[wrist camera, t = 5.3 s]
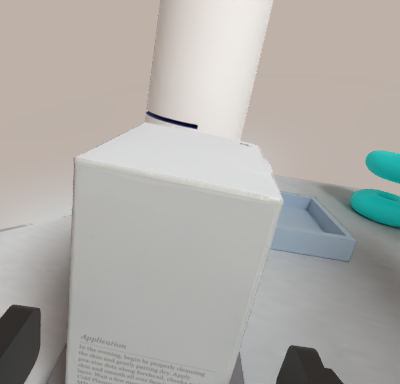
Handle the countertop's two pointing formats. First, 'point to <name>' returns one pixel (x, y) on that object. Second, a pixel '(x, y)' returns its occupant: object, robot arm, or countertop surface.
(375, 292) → the countertop surface
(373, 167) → the donuts
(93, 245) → the small box
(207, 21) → the cylindrical container
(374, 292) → the countertop surface
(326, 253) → the tray
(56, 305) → the countertop surface
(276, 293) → the countertop surface
